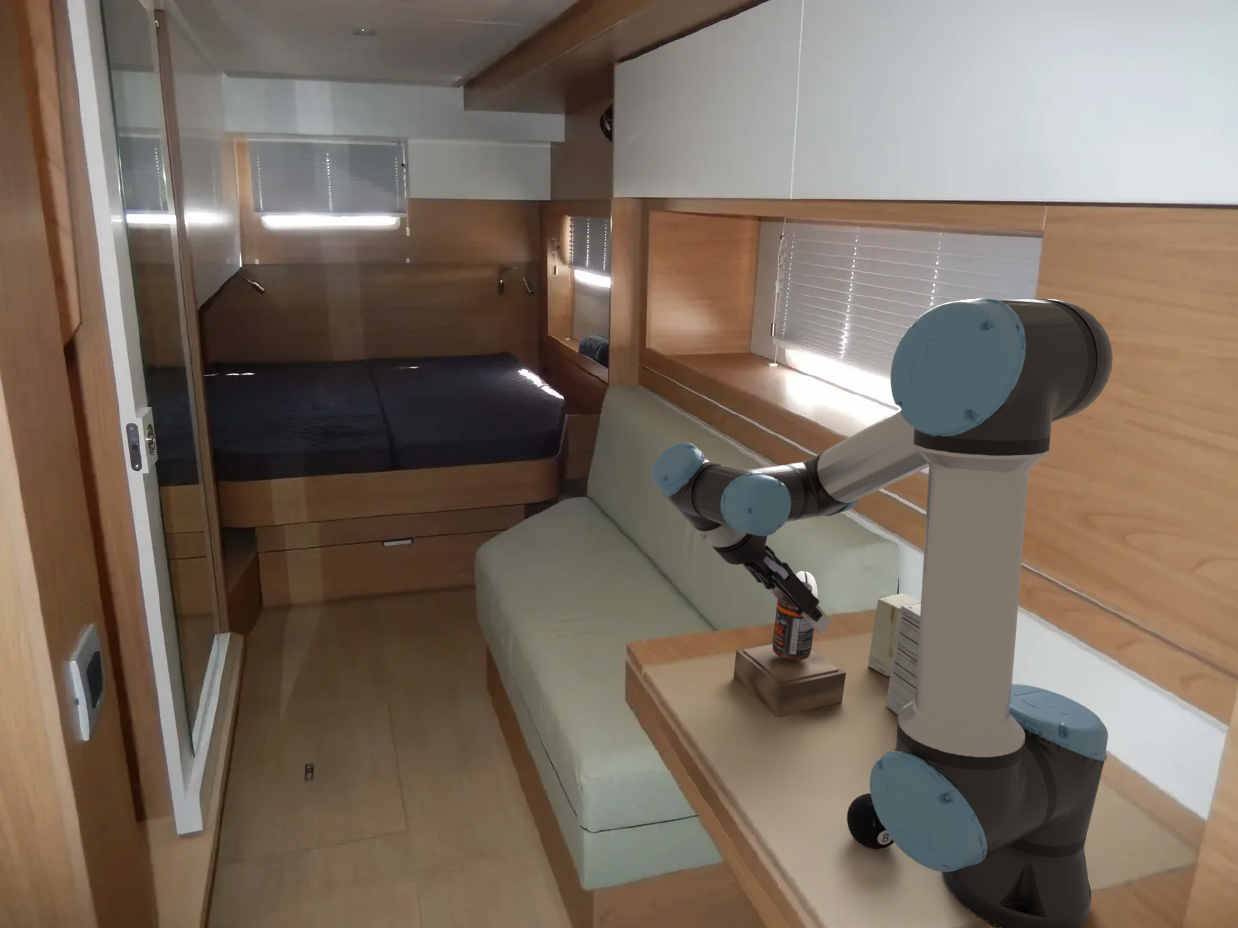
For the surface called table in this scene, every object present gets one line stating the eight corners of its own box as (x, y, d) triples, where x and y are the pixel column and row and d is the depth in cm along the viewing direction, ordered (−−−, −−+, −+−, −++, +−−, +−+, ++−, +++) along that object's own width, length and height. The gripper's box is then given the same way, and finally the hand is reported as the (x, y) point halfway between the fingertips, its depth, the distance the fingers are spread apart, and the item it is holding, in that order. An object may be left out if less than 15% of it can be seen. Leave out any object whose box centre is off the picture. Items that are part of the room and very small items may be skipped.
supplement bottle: (764, 646, 139) (772, 578, 136) (798, 642, 141) (806, 575, 138) (783, 663, 134) (790, 594, 131) (818, 659, 136) (826, 591, 133)
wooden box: (842, 701, 137) (846, 670, 135) (777, 716, 131) (781, 684, 130) (794, 665, 147) (798, 636, 146) (733, 678, 142) (736, 648, 140)
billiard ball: (858, 862, 102) (865, 817, 101) (836, 827, 108) (842, 785, 106) (906, 857, 103) (913, 813, 102) (881, 823, 109) (888, 781, 107)
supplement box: (926, 738, 128) (944, 631, 124) (883, 706, 136) (898, 604, 132) (976, 726, 132) (995, 622, 127) (931, 695, 140) (947, 596, 136)
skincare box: (886, 677, 145) (897, 608, 142) (866, 666, 148) (876, 598, 145) (912, 668, 148) (923, 601, 145) (892, 657, 152) (902, 591, 148)
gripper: (680, 526, 134) (760, 611, 145) (751, 572, 117) (835, 664, 129) (713, 490, 134) (790, 577, 146) (788, 530, 118) (868, 625, 130)
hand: (811, 618), depth 137 cm, fingers closed on supplement bottle, 6 cm apart
